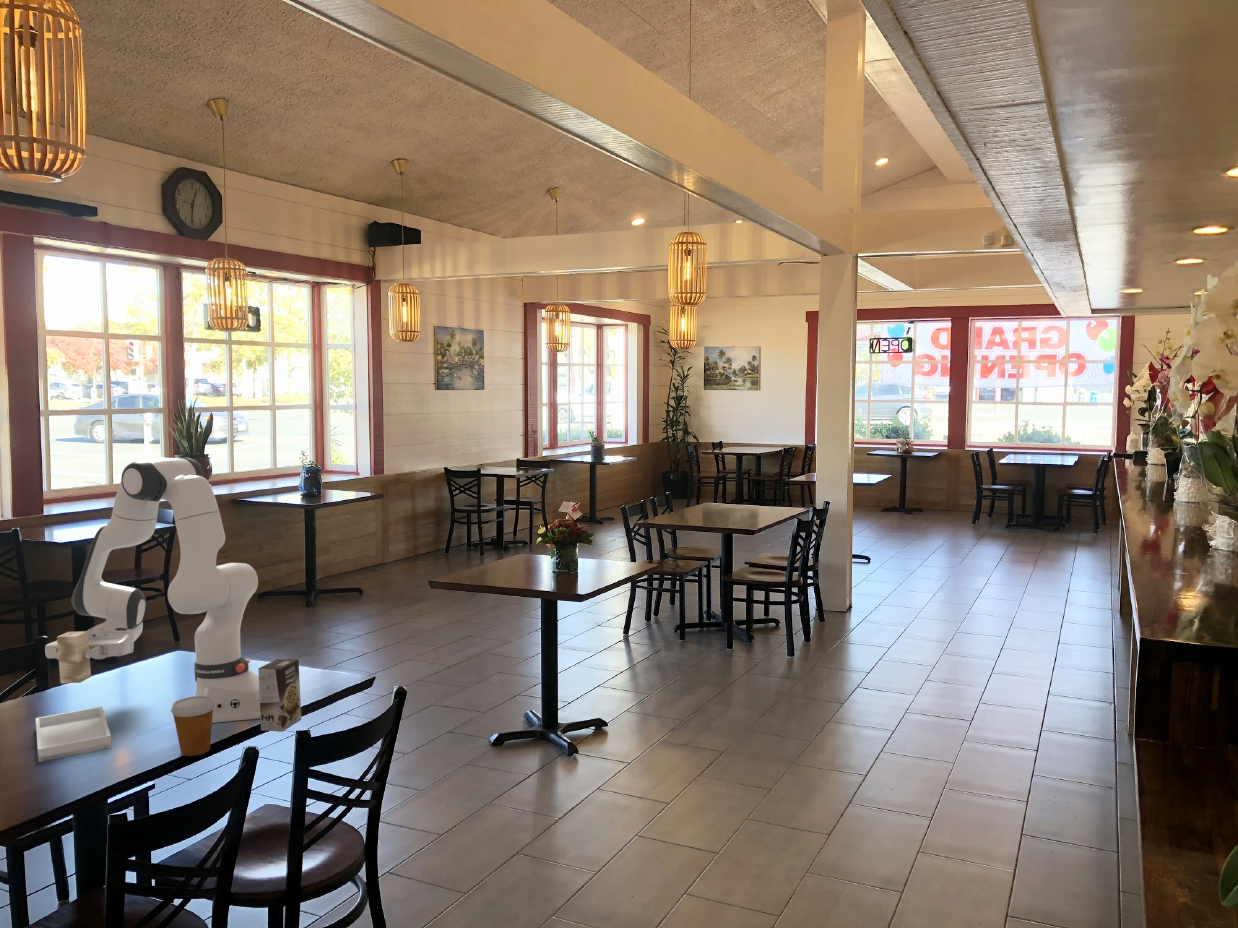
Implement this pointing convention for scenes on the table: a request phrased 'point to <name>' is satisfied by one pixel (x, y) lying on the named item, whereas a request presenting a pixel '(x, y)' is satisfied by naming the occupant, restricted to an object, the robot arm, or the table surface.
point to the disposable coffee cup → (193, 724)
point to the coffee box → (279, 694)
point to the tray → (72, 733)
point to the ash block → (73, 657)
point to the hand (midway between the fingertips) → (72, 655)
